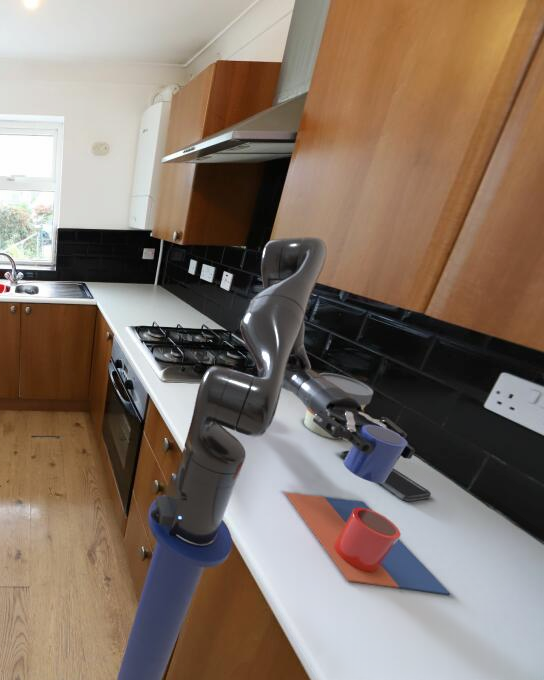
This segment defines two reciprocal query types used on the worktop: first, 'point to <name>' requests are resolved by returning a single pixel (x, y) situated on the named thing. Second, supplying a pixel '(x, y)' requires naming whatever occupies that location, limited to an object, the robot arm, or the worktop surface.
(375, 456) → the blue beaker
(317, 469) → the worktop surface
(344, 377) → the reusable coffee cup
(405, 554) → the sorting mat
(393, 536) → the red beaker
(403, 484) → the phone
